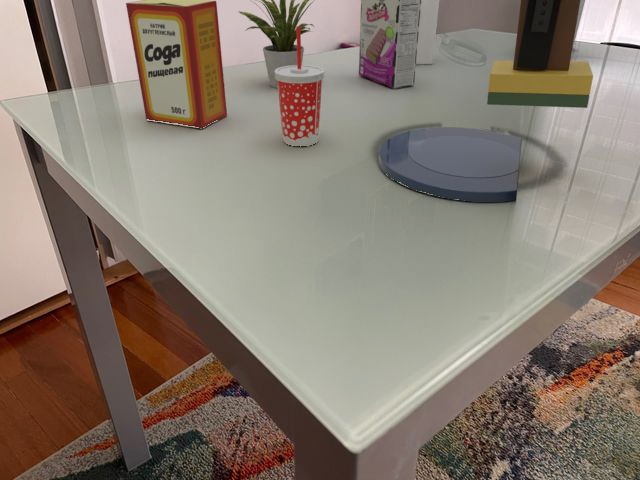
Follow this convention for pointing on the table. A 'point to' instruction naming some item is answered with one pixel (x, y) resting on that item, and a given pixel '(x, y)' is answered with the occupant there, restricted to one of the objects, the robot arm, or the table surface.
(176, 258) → the table surface
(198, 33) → the baking soda box
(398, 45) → the candy bar box
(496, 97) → the sponge
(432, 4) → the milk
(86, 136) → the table surface
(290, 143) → the beverage cup
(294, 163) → the table surface
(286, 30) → the house plant
